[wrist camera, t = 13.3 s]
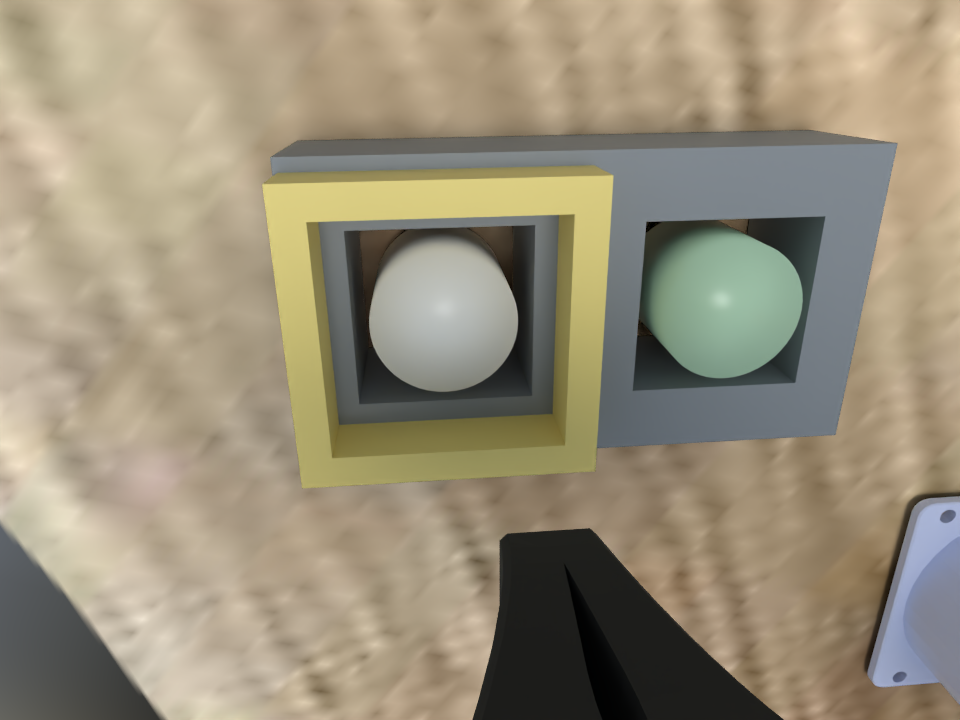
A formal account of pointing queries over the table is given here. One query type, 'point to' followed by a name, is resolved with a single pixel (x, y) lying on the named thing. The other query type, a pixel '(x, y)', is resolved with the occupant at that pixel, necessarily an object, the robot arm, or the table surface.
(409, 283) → the button
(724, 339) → the on button
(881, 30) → the table surface
